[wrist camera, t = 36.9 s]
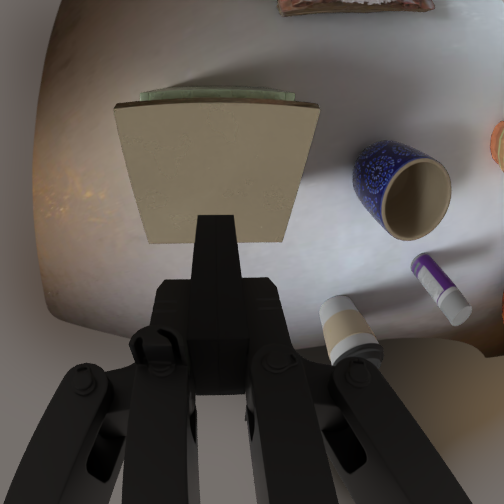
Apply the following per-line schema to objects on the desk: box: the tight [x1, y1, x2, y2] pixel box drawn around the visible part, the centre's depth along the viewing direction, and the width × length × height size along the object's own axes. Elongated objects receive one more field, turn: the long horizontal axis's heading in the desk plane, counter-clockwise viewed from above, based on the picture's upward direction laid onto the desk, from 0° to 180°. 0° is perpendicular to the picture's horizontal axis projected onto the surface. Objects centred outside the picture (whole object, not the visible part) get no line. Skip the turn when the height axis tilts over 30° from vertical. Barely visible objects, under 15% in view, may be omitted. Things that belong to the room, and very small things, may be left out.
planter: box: [353, 141, 451, 241], centre depth 35 cm, size 11×11×11 cm
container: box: [411, 253, 472, 326], centre depth 44 cm, size 5×5×15 cm
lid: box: [113, 97, 321, 244], centre depth 22 cm, size 14×13×1 cm
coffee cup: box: [319, 295, 383, 369], centre depth 48 cm, size 9×9×15 cm
